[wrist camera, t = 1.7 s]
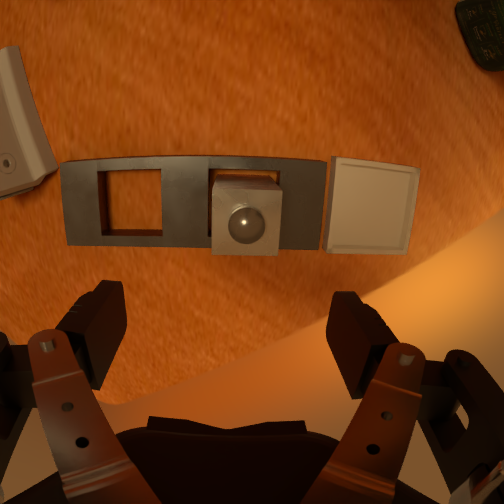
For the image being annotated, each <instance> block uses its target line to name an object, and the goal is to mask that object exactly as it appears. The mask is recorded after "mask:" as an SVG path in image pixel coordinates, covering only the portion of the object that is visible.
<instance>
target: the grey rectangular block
mask: <svg viewBox="0 0 504 504" xmlns="http://www.w3.org/2000/svg"><path fill="white" fill-rule="evenodd" d="M282 192H283V191H282V190H281V188H280V187H279V186H278V185H277V184H276V183H275V182H274V181H273V179H272V178H271V177H270V176H269V175H247V174H217V177H216V179H215V182H214V185H213V188H212V255H254V256H278V248H279V235H280V221H281V207H282Z"/></svg>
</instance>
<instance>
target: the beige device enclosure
mask: <svg viewBox="0 0 504 504" xmlns="http://www.w3.org/2000/svg"><path fill="white" fill-rule="evenodd" d="M58 168H59V167H58V165H57V163H56V160H55V158H54V155H53V153H52V150H51V148H50V145H49V143H48V140H47V137H46V135H45V132H44V129H43V126H42V124H41V121H40V118H39V115H38V112H37V109H36V106H35V103H34V100H33V97H32V94H31V90H30V87H29V84H28V80H27V77H26V73H25V70H24V66H23V62H22V59H21V55H20V51H19V47H18V46H8V47H5V48H3V49H2V50H0V200H3V199H6V198H9V197H12V196H15V195H18V194H22V193H25V192H28V191H31V190H33V186H36V185H39V184H40V183H41V182H42V180H43V179H44V177H45V176H46V175H47V174H50V173H52V172H54V171H56V170H57V169H58Z"/></svg>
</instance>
